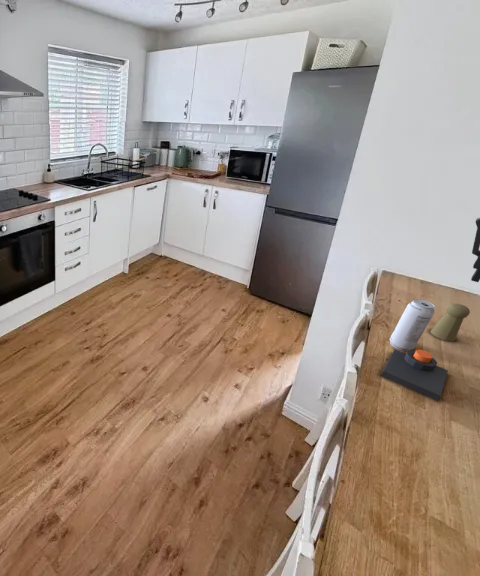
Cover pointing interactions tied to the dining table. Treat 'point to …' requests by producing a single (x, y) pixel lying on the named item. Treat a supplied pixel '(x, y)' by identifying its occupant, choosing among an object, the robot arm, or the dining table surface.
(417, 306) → the energy drink can
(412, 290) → the dining table surface
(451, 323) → the cork
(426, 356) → the button
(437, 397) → the scale
